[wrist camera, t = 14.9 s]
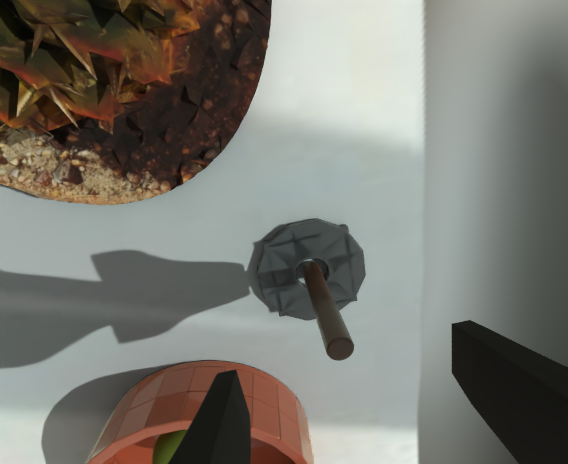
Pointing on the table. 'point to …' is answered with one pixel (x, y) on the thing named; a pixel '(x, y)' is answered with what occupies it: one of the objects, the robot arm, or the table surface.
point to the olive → (166, 446)
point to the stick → (327, 314)
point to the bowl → (185, 404)
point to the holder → (304, 245)
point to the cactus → (123, 92)
